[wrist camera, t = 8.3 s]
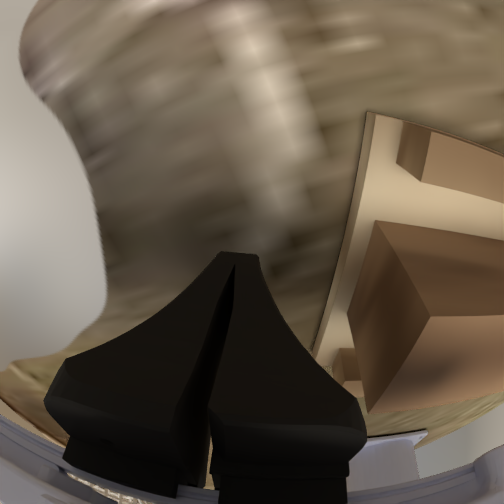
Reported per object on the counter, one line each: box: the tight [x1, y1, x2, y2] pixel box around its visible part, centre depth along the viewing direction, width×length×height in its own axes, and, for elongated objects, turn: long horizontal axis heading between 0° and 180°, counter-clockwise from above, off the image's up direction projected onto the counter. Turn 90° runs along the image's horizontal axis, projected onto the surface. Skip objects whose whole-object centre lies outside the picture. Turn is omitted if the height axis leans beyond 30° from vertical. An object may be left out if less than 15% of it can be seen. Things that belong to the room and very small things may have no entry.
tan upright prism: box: [347, 220, 504, 414], centre depth 9 cm, size 4×8×5 cm, turn 86°
